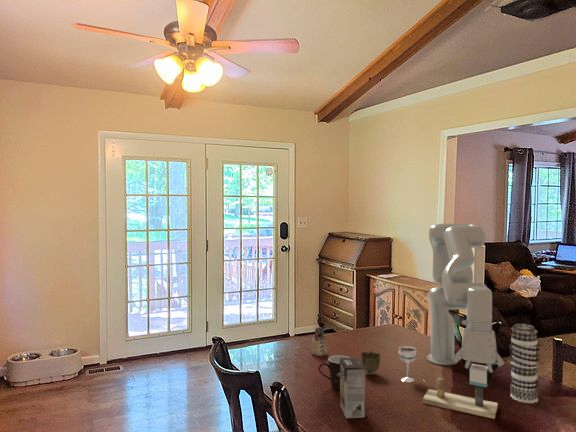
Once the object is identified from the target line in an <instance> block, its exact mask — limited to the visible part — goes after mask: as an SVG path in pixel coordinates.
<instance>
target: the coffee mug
mask: <svg viewBox="0 0 576 432" xmlns="http://www.w3.org/2000/svg"><path fill="white" fill-rule="evenodd" d="M340 358H351V357H350V356H346V355H332V356H329V357H328V364H327V362H326V363H325V362H324V363H321V364H320V365H319V367H318V372H319V373H320V375H322V376H323V377H324V378H327V379H329V381H330V383H331V388H332V389H334V390H337V391H340ZM322 366H327V367H328V369H329V376H330V377H329V376H328V375H326V374H324V373H323V372H322V371H321V367H322Z"/></svg>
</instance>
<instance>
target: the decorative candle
mask: <svg viewBox="0 0 576 432" xmlns="http://www.w3.org/2000/svg"><path fill="white" fill-rule="evenodd" d="M510 329H511V331H512V332H511V337H510V338H511V339H510V340H509V343H510V344H509V345H508V347H509V354H510V355H509V359H510V360H509V362H510V364H511V372H510V374H511V375H510V376H509V377H510V381H509V382H510V383H511V384H510V385H509V388H510V389H509V391H510V395H509V396H510V398H511V397H512V398H511V399H512V400H514V401H516V400H517V402H520V403H524V404H535V402H536V403H537V402H539V398H538V397H539V389H538V387H539V384H538V383H539V379H538V374H537V371H538V370H537V369H538V367H539V364H538V362H539V361H540V359H539V358H538V357H540V354H539V353H537V352H539V351H540V348H539V347H540V346H541V345H540V343H538V338H537V337H538V336H537V335H538V332H539V331H538V330H536V329H535V326H533V325H532V324H531V325H530V324H527V323H516V324H514V325H513V326H512V327H510Z"/></svg>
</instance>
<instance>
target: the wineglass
mask: <svg viewBox="0 0 576 432" xmlns="http://www.w3.org/2000/svg"><path fill="white" fill-rule="evenodd" d="M417 353H418V352H417V347H415V346H413V345H412V346H411V345H401V346H398V358H400V359H401V361H403V362H405V363H406V376H403V377H401V378H400V380H401V381H402V382H405V383H413V382H415V379H414V378H413V377H409V368H410V367H409V364H410V363H411V362H412V363H413V362H414V361H415V360H416V358H417V356H418V354H417Z"/></svg>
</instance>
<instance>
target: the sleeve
mask: <svg viewBox="0 0 576 432" xmlns="http://www.w3.org/2000/svg"><path fill="white" fill-rule="evenodd" d="M470 365H471V367H470V381H468V384H469V385H472V386H475V385H477V386H482V387H483V388H487V387H488V386H489V385H488V384H487V371H488V367H487V365H480V364H475V363H471V364H470Z"/></svg>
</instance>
